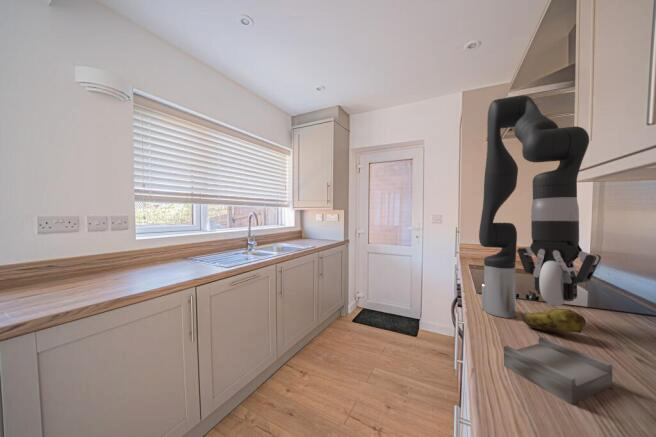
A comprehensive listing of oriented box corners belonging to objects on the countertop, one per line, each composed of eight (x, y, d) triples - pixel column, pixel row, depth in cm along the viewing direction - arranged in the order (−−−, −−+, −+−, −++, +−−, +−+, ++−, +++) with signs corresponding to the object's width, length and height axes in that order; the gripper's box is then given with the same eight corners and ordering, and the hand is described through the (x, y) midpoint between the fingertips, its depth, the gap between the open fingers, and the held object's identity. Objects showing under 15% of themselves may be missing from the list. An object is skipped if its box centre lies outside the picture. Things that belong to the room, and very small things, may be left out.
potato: (533, 322, 78) (533, 298, 78) (589, 339, 66) (589, 311, 66) (521, 327, 74) (520, 302, 74) (578, 346, 62) (578, 317, 62)
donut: (550, 298, 55) (551, 256, 55) (571, 302, 52) (572, 258, 52) (536, 306, 50) (536, 260, 50) (558, 312, 47) (559, 263, 47)
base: (503, 365, 54) (503, 346, 54) (541, 354, 59) (541, 336, 59) (571, 404, 43) (571, 380, 43) (612, 386, 47) (612, 364, 47)
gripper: (610, 219, 46) (612, 306, 45) (528, 219, 59) (528, 286, 59) (589, 218, 43) (590, 311, 43) (508, 219, 57) (508, 289, 56)
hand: (554, 296), depth 51 cm, fingers closed on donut, 4 cm apart
